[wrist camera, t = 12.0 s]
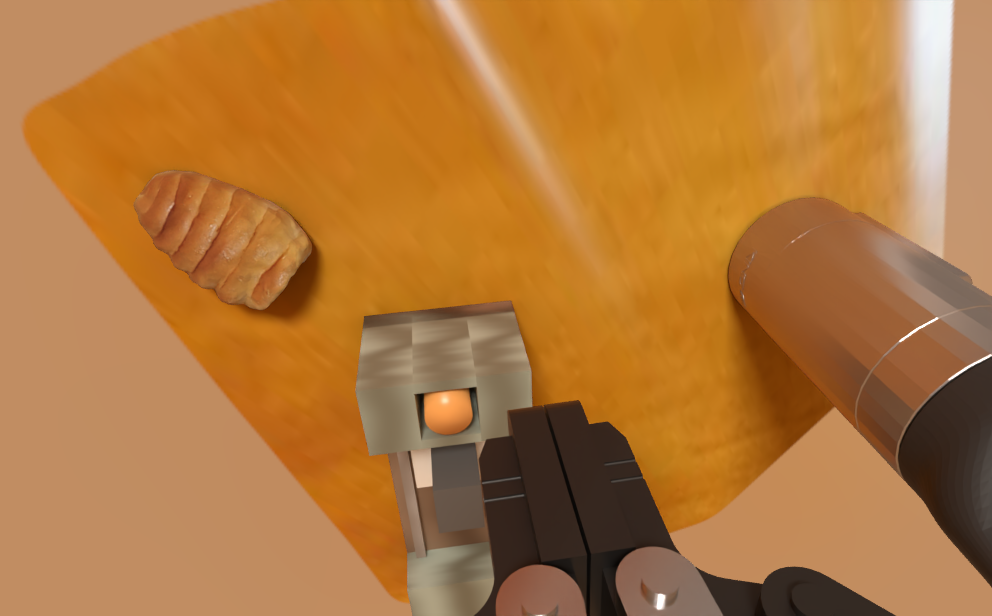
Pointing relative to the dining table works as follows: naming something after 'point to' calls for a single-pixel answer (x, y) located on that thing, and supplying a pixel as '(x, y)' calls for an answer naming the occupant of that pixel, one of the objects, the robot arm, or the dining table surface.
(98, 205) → the dining table surface
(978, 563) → the robot arm
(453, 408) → the plunger
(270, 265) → the pastry
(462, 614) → the rail base
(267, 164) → the dining table surface
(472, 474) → the carriage
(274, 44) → the dining table surface
